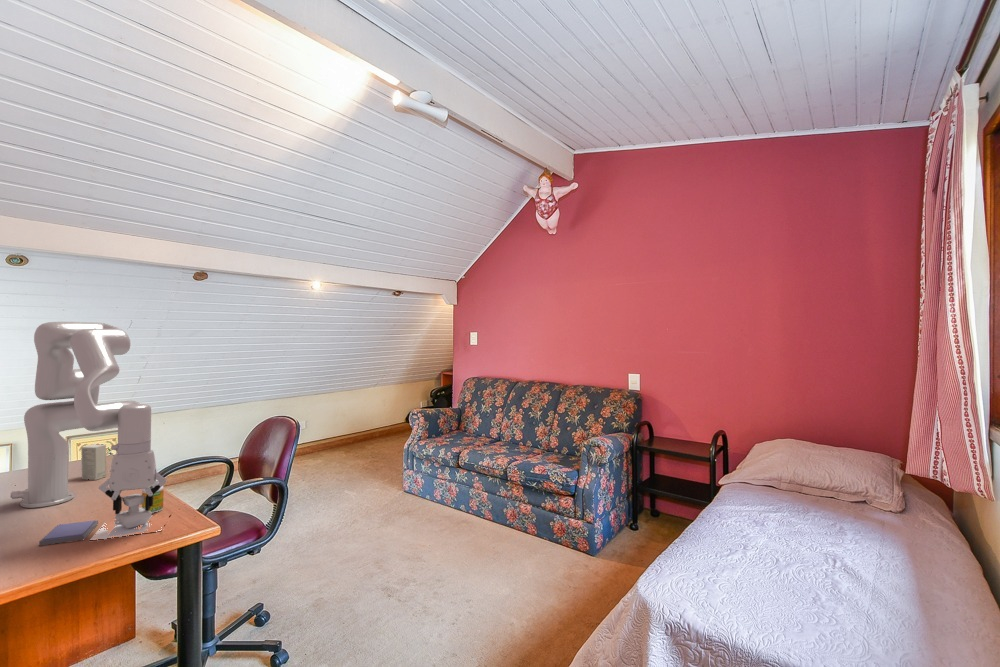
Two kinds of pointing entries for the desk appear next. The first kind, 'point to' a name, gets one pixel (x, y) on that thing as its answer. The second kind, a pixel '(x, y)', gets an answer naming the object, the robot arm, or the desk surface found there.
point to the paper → (118, 531)
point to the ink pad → (69, 532)
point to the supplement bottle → (155, 499)
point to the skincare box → (93, 461)
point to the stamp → (133, 512)
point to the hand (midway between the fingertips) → (133, 510)
